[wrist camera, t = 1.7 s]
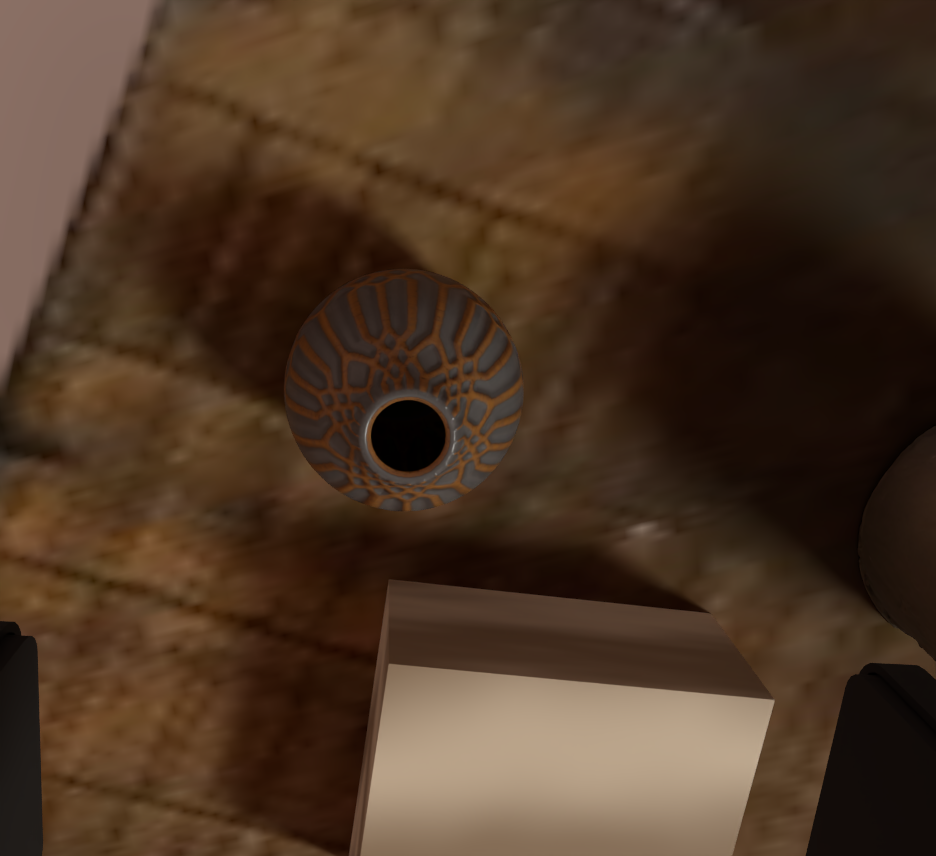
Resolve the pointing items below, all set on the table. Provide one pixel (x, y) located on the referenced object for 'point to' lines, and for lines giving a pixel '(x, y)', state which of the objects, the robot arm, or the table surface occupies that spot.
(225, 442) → the table surface
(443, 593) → the maple block
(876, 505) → the pillar candle
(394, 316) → the vase
